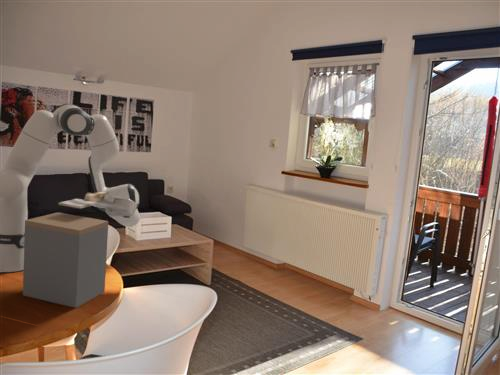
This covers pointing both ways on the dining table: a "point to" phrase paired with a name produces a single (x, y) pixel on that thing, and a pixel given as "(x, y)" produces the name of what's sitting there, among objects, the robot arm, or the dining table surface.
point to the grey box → (64, 258)
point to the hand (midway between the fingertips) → (100, 195)
